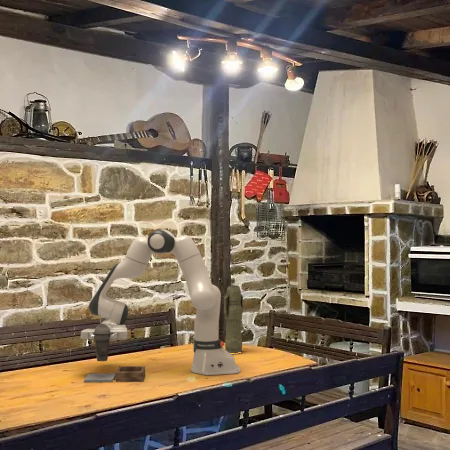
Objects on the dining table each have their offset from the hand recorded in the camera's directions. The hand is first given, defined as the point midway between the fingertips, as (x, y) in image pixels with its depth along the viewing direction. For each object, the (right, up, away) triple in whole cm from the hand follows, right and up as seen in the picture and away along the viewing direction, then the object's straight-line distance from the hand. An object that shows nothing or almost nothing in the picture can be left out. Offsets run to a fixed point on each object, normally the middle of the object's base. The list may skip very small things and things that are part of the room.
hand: (102, 337), depth 262 cm
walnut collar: (+12, -18, +1) cm, 22 cm away
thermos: (+57, -19, +57) cm, 83 cm away
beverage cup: (0, -10, +1) cm, 10 cm away
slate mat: (-1, -18, +1) cm, 18 cm away
